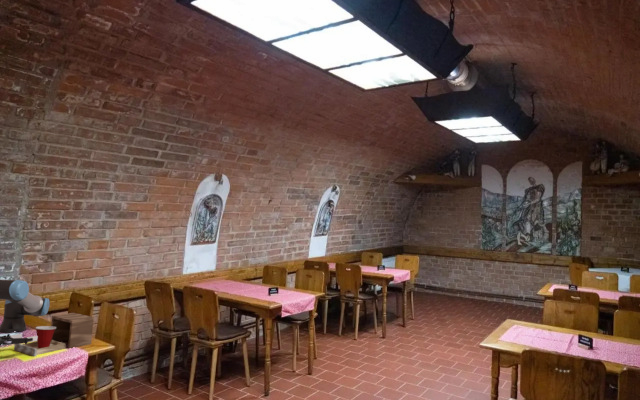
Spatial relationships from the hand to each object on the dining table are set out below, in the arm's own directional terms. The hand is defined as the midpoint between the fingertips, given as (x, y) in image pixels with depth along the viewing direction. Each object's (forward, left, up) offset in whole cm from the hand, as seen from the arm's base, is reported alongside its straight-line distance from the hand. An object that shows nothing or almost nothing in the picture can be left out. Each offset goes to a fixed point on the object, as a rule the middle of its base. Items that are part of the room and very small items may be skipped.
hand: (29, 337), depth 263 cm
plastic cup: (0, +9, -8) cm, 12 cm away
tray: (+1, +7, -8) cm, 11 cm away
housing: (+1, +26, -9) cm, 27 cm away
